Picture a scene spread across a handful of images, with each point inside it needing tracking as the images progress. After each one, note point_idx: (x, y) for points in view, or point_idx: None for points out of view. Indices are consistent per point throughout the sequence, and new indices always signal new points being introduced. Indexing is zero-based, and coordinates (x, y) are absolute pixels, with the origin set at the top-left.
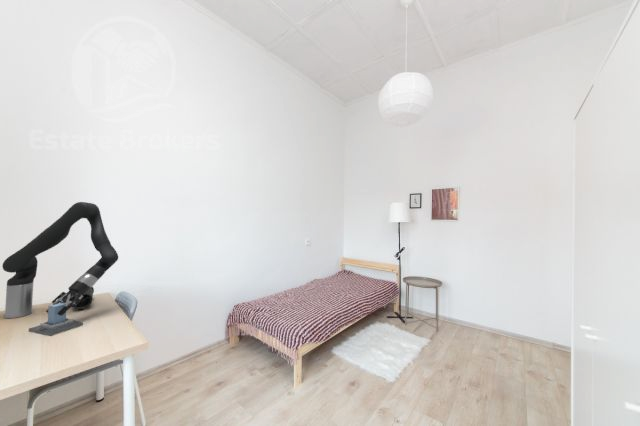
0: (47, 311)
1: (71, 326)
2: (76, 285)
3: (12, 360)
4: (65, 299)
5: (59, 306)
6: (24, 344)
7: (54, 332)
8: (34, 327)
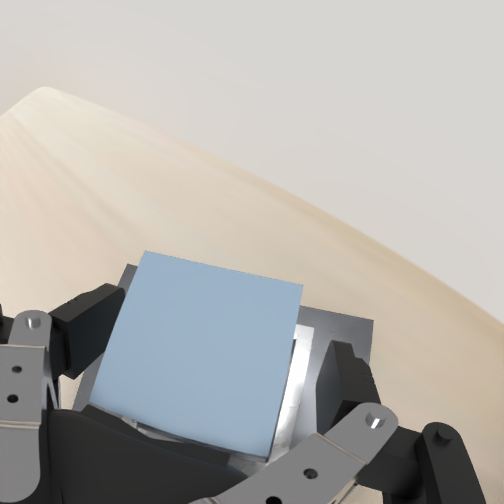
0: (329, 345)
1: (85, 369)
2: None
3: (105, 119)
4: (128, 448)
5: (125, 309)
6: (177, 188)
7: (120, 282)
8: (356, 340)
